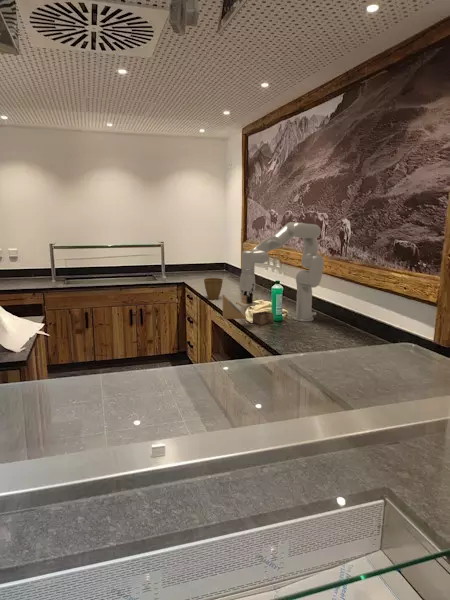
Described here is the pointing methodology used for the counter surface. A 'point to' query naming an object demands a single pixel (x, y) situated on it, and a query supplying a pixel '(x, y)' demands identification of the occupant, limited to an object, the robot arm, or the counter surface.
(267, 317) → the box
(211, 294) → the plant pot
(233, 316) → the sandwich container
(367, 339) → the counter surface
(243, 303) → the lid
